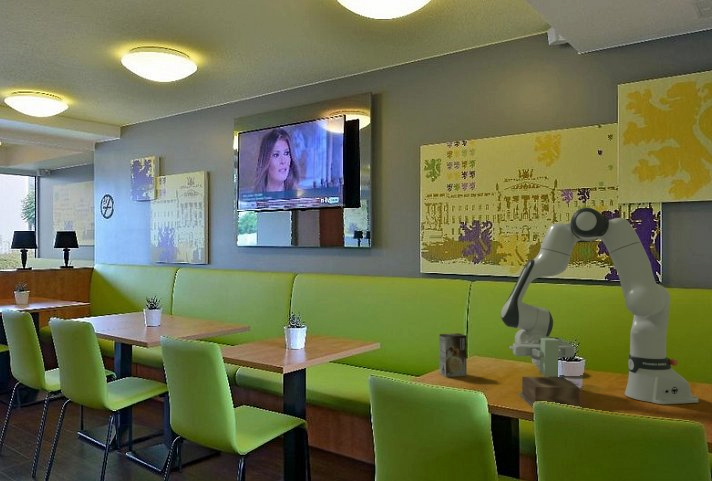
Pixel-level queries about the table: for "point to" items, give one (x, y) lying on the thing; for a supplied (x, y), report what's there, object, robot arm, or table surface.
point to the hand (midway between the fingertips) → (550, 354)
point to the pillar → (549, 357)
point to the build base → (549, 390)
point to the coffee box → (453, 355)
